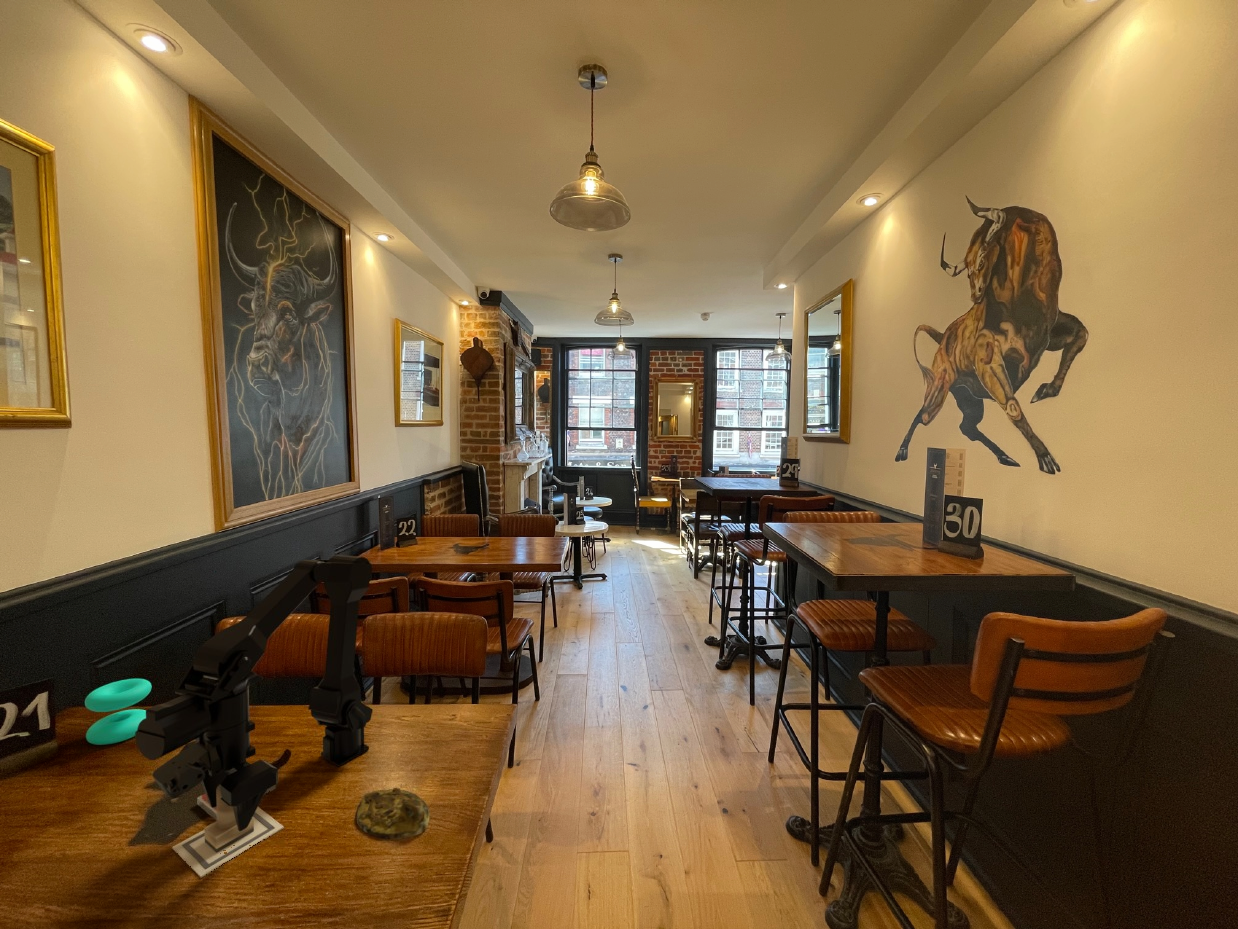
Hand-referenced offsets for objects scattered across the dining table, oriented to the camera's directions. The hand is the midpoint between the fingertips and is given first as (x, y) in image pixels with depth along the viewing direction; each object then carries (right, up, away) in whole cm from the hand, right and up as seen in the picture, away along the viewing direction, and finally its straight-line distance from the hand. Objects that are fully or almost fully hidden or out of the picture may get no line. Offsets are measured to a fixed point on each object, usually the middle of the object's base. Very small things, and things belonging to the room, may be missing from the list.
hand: (228, 817), depth 80 cm
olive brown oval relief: (+23, -4, +6) cm, 24 cm away
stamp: (0, -3, 0) cm, 3 cm away
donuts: (-44, -2, +27) cm, 52 cm away
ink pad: (-6, -3, +9) cm, 11 cm away
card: (0, -3, 0) cm, 3 cm away
